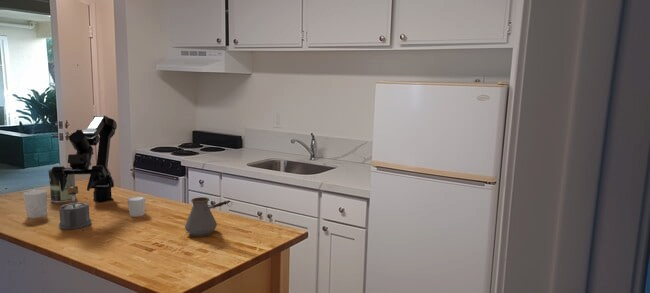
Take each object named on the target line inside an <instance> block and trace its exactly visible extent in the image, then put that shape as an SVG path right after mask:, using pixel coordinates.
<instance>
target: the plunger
mask: <svg viewBox="0 0 650 293" xmlns="http://www.w3.org/2000/svg"><path fill="white" fill-rule="evenodd" d="M68 194H72V202H71V203H72V205H68V206H65V207H64V209H76V208H81V207H84V205H83V204H75V203H76V199H75V194H76V195H78V194H79V186H77V185H75V186H70V187H68Z"/></svg>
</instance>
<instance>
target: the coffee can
mask: <svg viewBox="0 0 650 293" xmlns="http://www.w3.org/2000/svg"><path fill="white" fill-rule="evenodd" d="M65 169H72V168H71V167H65ZM51 170H52V168H51V169H49V170H48V171H47V172H48V179H49V182H48V183H49V191H50V202H52V203H58V204H59V203H68V202H71V201H72V194H68V187H70V186H76V179H75V176H76V175H75V174H72V175H68V176H67V178H66V179H67V182H66V185H65V189H64V191H63V192H62V191H61V187H60V181H59V180H58V179H56V178H55V177H54V175H53V174H52V172H51ZM75 200H77V194H75Z"/></svg>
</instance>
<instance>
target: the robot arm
mask: <svg viewBox="0 0 650 293" xmlns="http://www.w3.org/2000/svg"><path fill="white" fill-rule="evenodd" d="M117 127H118V125H117V122H116V121H115V119H114V118H110V117H108V116H107V115H98V114H97V115H94V117H93V120H92V121H91V122H90V124H89V126H88V127H87V128H86V129H76V131H75V132H73V133H71V134H70V135H68V136H69V137H68V140H69V142H70V144H71V146H72V148H73V149H74V151H76V152H75V153H74V154H73V153H72V154H68V155H67V164H69V168H72V169H65V168H66V167H65V166H64V165H59V166H58V165H56V166H52V168H51V169H52V170H51V169H50V170H51V172H52V174H53V175H54V177H55V178H56V179H58V180H59V181H60V187H61V191H62V192H63V191H64V189H65V185H66V182H67V179H66V178H67V176H68V175H72V174H74V175H82V176H85V175H89V178H88V184H87V186H86V190H87V191H88V192H90V190H93V200H92V201H95V202H97V203H105V202H110V201H114V198H112V188H114V187H115V182H114V181H115V180H114V179H113V177H112V173H111V171H110V169H109V168H108V165H109V159H110V158H109V156H110V147H111V138H113V136H114V135H116V130H117ZM97 145H98V146H97ZM93 146H97V147H98V148H97V157H96V158H97V159H96V165H92V162H91V161H92V157H93V155H94V148H93ZM90 166H92V167H91V168H90Z"/></svg>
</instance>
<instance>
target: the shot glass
mask: <svg viewBox="0 0 650 293" xmlns="http://www.w3.org/2000/svg"><path fill="white" fill-rule="evenodd" d="M127 205H128V209H129V210H128V211H129V216H130V217H132V218H133V217H135V218H136V217H142V216H144V215H145V214H146V212H145V211H146V197H145V196H138V195H137V196H132V197H129V198H127Z"/></svg>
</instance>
